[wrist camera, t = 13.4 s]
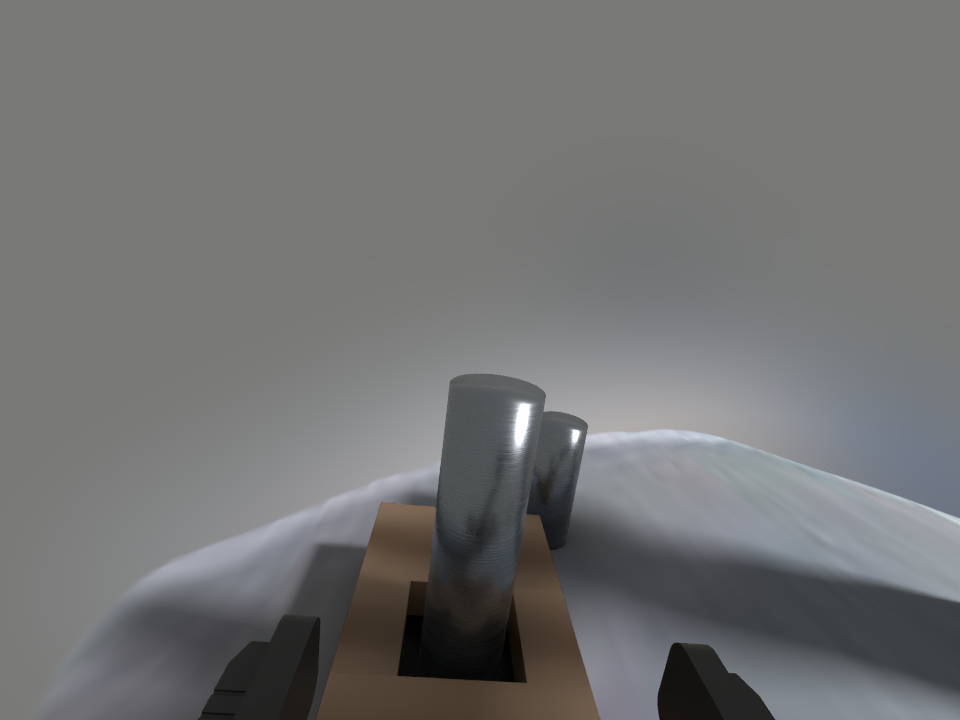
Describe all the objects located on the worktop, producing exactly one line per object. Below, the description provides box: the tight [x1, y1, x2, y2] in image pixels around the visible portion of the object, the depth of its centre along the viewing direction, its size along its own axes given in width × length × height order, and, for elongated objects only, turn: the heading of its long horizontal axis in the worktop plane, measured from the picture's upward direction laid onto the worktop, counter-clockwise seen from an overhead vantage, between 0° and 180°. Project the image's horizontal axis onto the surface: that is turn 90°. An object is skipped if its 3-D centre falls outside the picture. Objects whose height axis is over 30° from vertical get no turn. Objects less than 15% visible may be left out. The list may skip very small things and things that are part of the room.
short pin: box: [526, 411, 588, 549], centre depth 33 cm, size 4×4×9 cm
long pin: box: [417, 374, 546, 682], centre depth 19 cm, size 4×4×15 cm
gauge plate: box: [316, 502, 600, 720], centre depth 20 cm, size 18×10×4 cm, turn 3°
